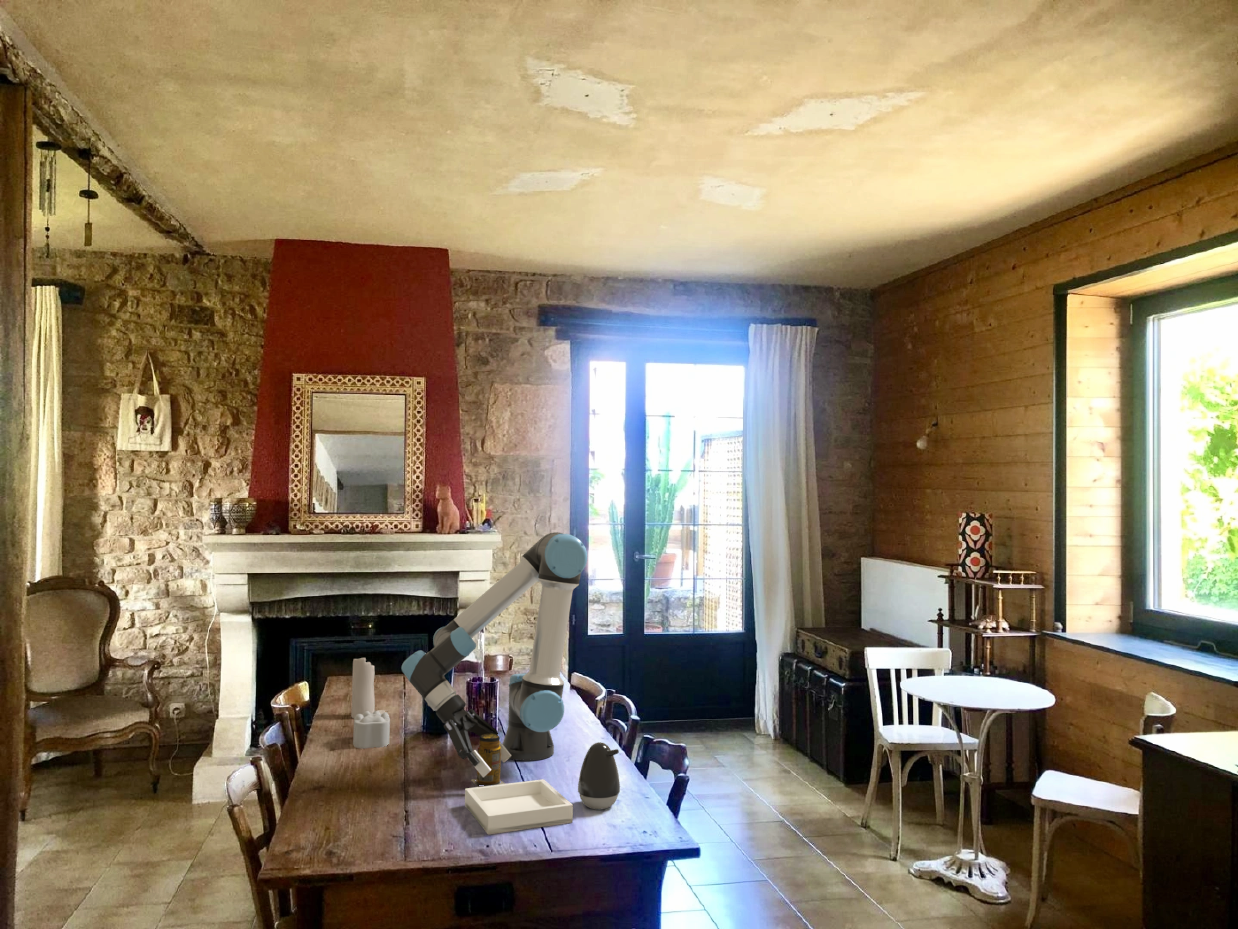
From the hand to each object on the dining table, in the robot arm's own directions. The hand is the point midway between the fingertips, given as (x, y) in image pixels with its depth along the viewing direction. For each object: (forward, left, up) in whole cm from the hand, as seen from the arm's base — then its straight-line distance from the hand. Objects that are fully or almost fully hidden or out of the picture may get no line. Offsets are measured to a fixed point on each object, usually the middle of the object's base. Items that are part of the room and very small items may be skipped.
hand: (497, 766), depth 231 cm
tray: (+2, +22, -5) cm, 23 cm away
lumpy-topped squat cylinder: (+24, -52, -5) cm, 57 cm away
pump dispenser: (-18, +24, -5) cm, 31 cm away
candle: (+19, -86, -5) cm, 88 cm away
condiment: (+2, -2, -5) cm, 5 cm away
